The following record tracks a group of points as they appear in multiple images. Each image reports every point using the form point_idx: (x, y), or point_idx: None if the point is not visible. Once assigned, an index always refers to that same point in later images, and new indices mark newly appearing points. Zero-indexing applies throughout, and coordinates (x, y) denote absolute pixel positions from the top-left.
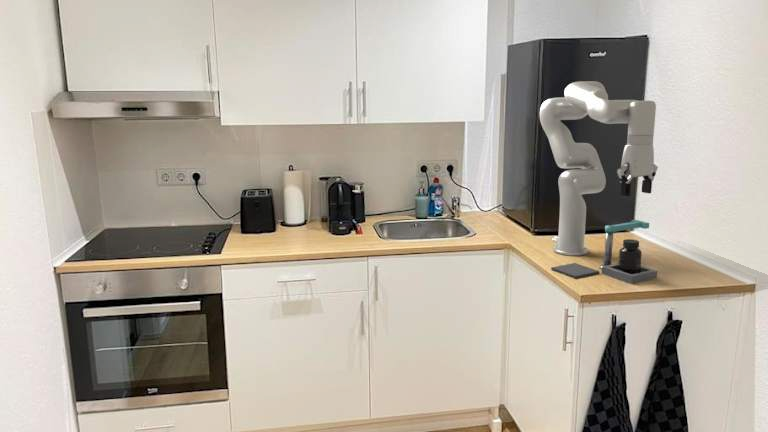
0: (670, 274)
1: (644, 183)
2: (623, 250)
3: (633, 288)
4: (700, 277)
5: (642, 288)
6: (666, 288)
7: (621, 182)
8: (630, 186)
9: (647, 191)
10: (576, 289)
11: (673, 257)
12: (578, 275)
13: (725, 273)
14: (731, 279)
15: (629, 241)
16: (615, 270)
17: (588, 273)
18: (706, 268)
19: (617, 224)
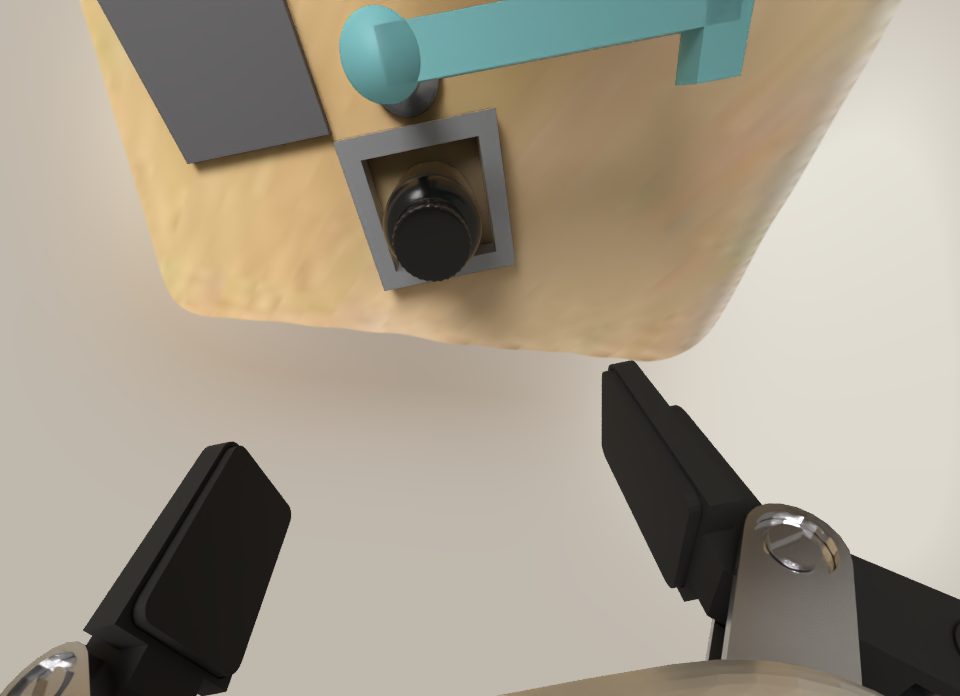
0: (583, 236)
1: (660, 492)
2: (388, 234)
3: (369, 314)
4: (638, 288)
5: (396, 321)
6: (464, 338)
7: (59, 669)
8: (241, 639)
9: (608, 444)
10: (165, 273)
11: (818, 27)
12: (206, 158)
13: (739, 279)
14: (693, 325)
15: (416, 251)
16: (362, 214)
17: (264, 147)
18: (750, 219)
19: (483, 11)
